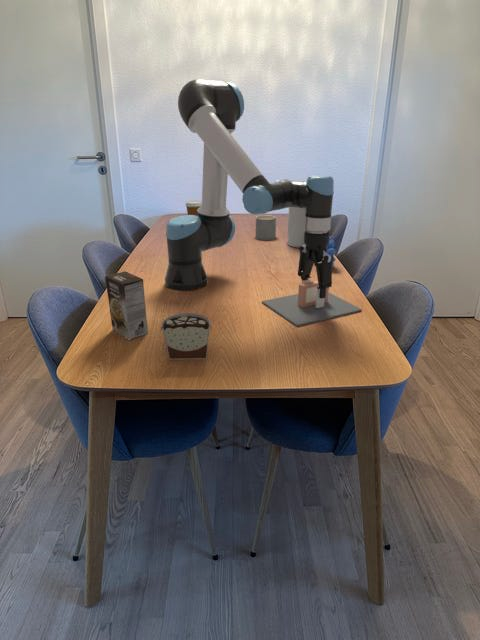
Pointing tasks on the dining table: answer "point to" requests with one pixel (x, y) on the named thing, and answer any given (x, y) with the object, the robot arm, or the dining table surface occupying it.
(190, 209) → the disposable coffee cup
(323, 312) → the mat
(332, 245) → the blue lumpy piece
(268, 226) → the coffee mug
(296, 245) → the cylinder vase
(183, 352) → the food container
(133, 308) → the coffee box
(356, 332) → the dining table surface
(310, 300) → the pink picture frame
